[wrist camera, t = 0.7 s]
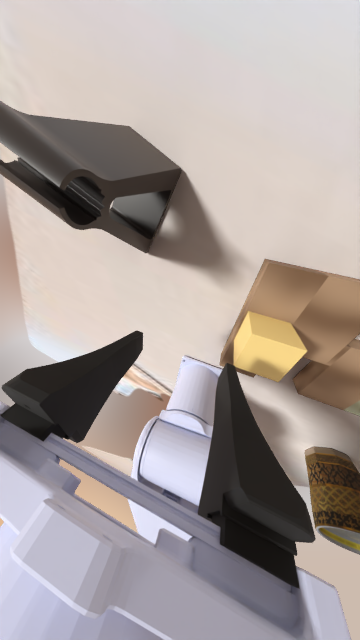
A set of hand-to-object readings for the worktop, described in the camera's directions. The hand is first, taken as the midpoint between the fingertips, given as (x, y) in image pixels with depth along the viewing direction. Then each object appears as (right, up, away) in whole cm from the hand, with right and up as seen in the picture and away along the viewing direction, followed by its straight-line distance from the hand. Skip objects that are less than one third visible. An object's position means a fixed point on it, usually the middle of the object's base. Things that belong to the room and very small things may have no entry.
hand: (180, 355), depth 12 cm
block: (+10, +1, +5) cm, 11 cm away
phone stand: (-4, +17, +5) cm, 18 cm away
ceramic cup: (+30, -23, +16) cm, 41 cm away
